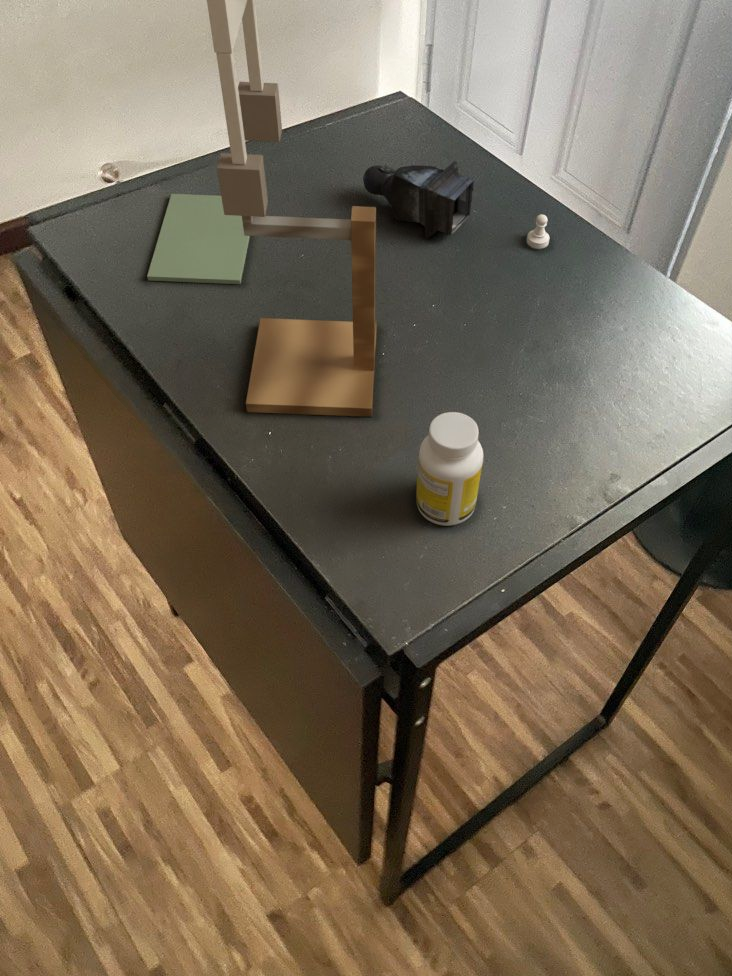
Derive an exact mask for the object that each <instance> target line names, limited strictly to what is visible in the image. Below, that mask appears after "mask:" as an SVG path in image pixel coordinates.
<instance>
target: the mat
mask: <svg viewBox="0 0 732 976" xmlns="http://www.w3.org/2000/svg"><path fill="white" fill-rule="evenodd" d="M250 238H251V236H245V235H244V230H243V222H242V216H235V215H224V210H223V204H222V197H221V195H214V194H213V195H211V194H193V193H192V194H190V193H170V197H169V200H168V204H167V207H166V210H165V214H164V217H163V221H162V224H161V228H160V230H159V234H158V238H157V241H156V243H155V248H154V251H153V254H152V258H151V261H150V263H149V264H150V265H149V268H148V272H147V275H146V277H147V281H150V282H171V283H172V282H174V283H175V282H176V283H198V284H220V285H221V284H223V285H224V284H225V285H241V283H242V279H243V273H244V268H245V263H246V258H247V253H248V249H249V243H250Z"/></svg>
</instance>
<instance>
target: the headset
mask: <svg viewBox="0 0 732 976" xmlns="http://www.w3.org/2000/svg"><path fill="white" fill-rule="evenodd" d="M206 4H207V5H206V6H207V13H208V17H209V18H208V19H209V26H210V31H211V39H212V45H213V51H214V53H215V54H216V55H215V56H216V61H217V68H218V75H219V82H220V88H221V89H220V90H221V96H222V102H223V109H224V116H225V124H226V130H227V135H228V143H229V149H230V150H229V151H230V153H228V152H220V154H219V158H218V162H217V165H216V173H217V178H218V184H219V185H218V186H219V191H220V196H221V197H222V204H223V210H224V215H235V216H256V217H265V216H266V214H267V209H268V203H269V199H268V191H267V180H266V172H265V163H264V155H263V154H251V153H247V145H246V142H263V143H280V142H281V137H282V132H283V124H282V114H281V113H282V112H281V101H280V91H279V90H280V89H279V83H276V82H264V73H263V66H262V65H263V64H262V63H263V62H262V55H261V47H260V46H261V45H260V44H261V43H260V36H259V25H258V17H257V7H256V0H206ZM241 24H242V30H243V39H244V50H245V57H246V67H247V74H248V81H239V82H238V76H237V68H236V62H235V54H234V48H235V45H236V41H237V39H238V34H239V31H240V27H241Z"/></svg>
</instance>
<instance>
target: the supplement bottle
mask: <svg viewBox="0 0 732 976" xmlns="http://www.w3.org/2000/svg"><path fill="white" fill-rule="evenodd" d="M429 424H430V425H429V428H428V435H426V436H425V437H424V439H423V440H422V442H421V444H420V446H419V451H418V458H417V459H418V461H417V476H416V492H415V494H416V495H415V501H416V506H417V509H418V512H419V513H420V514H421V515H422V516H423V517H424V518H425V519H426V520H427V521H429V522H431V523H432V524H435V525H439V526H446V527H447V526H448V527H449V526H457V525H459V524H462V523H463V522H465V521H466V520H469V518H470V517H471V516H472V515H473V513H474V512H475V509H476V506H477V500H478V495H479V487H480V481H481V475H482V469H483V464H484V449H483V447H482V445H481V443H480V441H479V433H480V432H479V427H478V426H479V425H478V424H477V422H476V421H475V420H474V419H473V418H472V417H470V416H469V415H467V414H465V413H462V412H458V411H448V412H444V413H441V414H439V415H437V416H435V417H434V418H433V419H432V421H431V422H430V423H429Z"/></svg>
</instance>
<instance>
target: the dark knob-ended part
mask: <svg viewBox="0 0 732 976" xmlns="http://www.w3.org/2000/svg"><path fill="white" fill-rule="evenodd" d="M362 181H363V185H364V188H365V190H366V191H367V192H368V193H369V194H371V195H373V196H382V197H384V198H385V199H386V201H387V202H388V204H389V206H390V208H391V210H392V213H393V215H394V217H395V219H396V221H400V222H409V223H420V224H421V225H422V226H424V228H425V229H424V238H425V239H428V238H429V237H432V236H433V235H434V234H435V233H436V232H438V231H439V232H442V233H443V234H444V235H445V236H453V235H454V233H456V231H458V229H459V228H460V227H461V226H462V225H463V224H464V223H465V222H466V221H467V220H468V218H469V217H470V216H471V210H472V202H473V191H474V182H475V180H474V179H471V177H470V175H467V176H463V175H460V173H459V166H458V162H457V160H454V161H453V162H451V163H450V165H448V166H447V167H446V168H445V169H442V168H438V167H436V166H434V165H408V166H400V167H398V168H397V169H395V168H393V167H390V166H387V165H378V164H377V165H372V166H370V167H368V168H367V169H366V170H365V172H364V173H363V176H362Z"/></svg>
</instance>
